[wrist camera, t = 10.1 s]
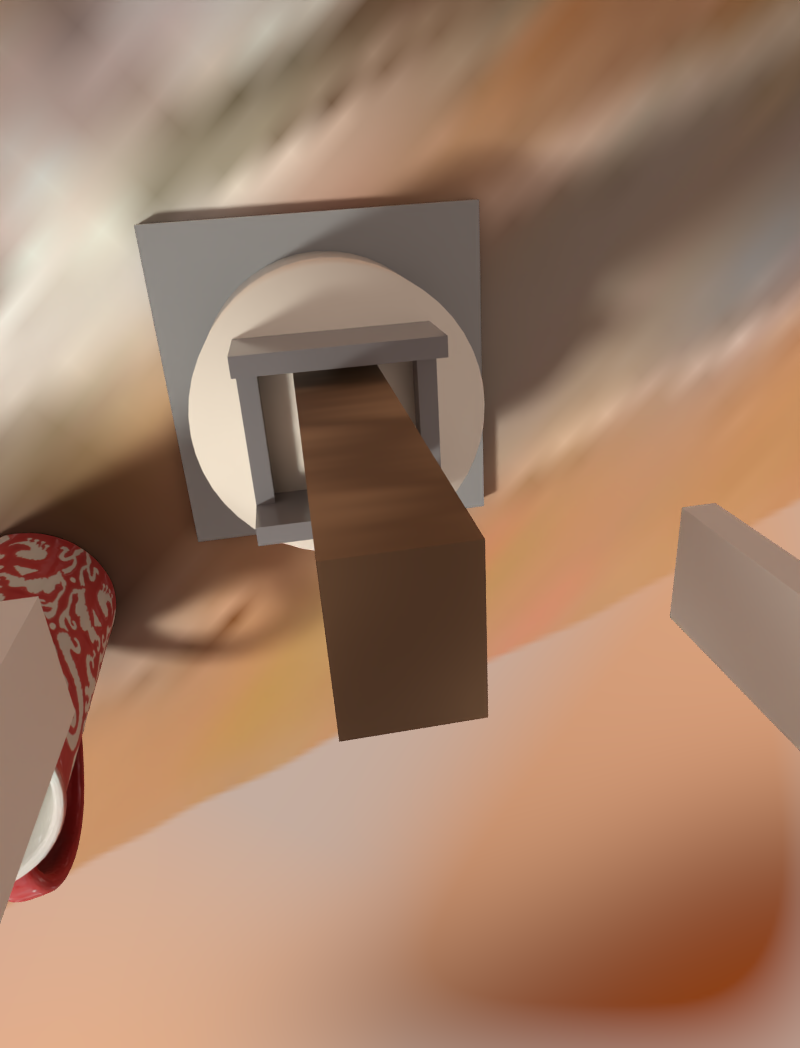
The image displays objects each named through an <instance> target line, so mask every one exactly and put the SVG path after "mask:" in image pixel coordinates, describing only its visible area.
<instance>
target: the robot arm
mask: <svg viewBox="0 0 800 1048" xmlns="http://www.w3.org/2000/svg"><path fill="white" fill-rule="evenodd" d="M670 618H671V619H672V620H673V621H674V622H675V623H676V624H677V625H678V626H679V627H680V628H681V629H682V630H683V631H684V632H685V633H686V634H687V635H688V636H689V637H690V638H691V639H692V640H693V641H694V642H695V643H696V644H697V645H698V646H699V648H700V649H701V650H702V651H703V652H704V653H705V654H706V655H707V656H708V657H709V658H710V659H711V660H712V661H713V662H714V663H715V664H716V665H717V666H718V667H719V668H720V669H721V670H722V671H723V672H724V673H725V674H726V675H727V676H728V677H729V678H730V680H732V682H733V683H734V684H736V686H737V687H738V688H739V689H740V690H741V691H742V692H743V693H744V694H745V695H746V696H747V697H748V698H749V699H750V700H751V701H752V702H753V703H754V704H755V705H756V706H757V707H758V708H759V709H760V710H761V711H762V712H763V713H764V715H765V716H766V717H767V718H768V719H769V720H770V721H771V722H772V723H773V724H774V725H775V726H776V727H777V728H778V729H779V730H780V731H781V732H782V733H783V734H784V735H785V736H786V737H787V738H788V739H789V740H790V741H791V742H792V743H793V744H794V745H795V746H796V747H797V748H798V750H800V560H798V559H797V558H796V557H794V556H793V555H791V554H790V553H788V552H787V551H785V550H784V549H782V548H781V547H779V546H778V545H776V544H775V543H773V542H772V541H770V540H769V539H767V538H766V537H765V536H763V535H761V534H760V533H759V532H757V531H756V530H754V529H753V528H751V527H750V526H748V525H747V524H745V523H744V522H742V521H741V520H739V519H738V518H737V517H735V516H734V515H732V514H731V513H729V512H728V511H726V510H725V509H723V508H722V507H720V506H719V505H717V504H716V503H712V504H705V505H697V506H690V507H683V508H682V513H681V522H680V531H679V540H678V549H677V558H676V567H675V576H674V585H673V594H672V603H671V612H670ZM74 713H75V709H74V706H73V703H72V700H71V697H70V693H69V690H68V687H67V684H66V681H65V678H64V675H63V672H62V668H61V665H60V662H59V659H58V656H57V653H56V650H55V646H54V643H53V640H52V637H51V634H50V631H49V628H48V625H47V621H46V618H45V615H44V612H43V609H42V606H41V603H40V600H39V596H36V597H29V598H21V599H14V600H7V601H0V922H1V919H2V917H3V914H4V911H5V908H6V905H7V902H8V900H9V897H10V894H11V891H12V888H13V886H14V883H15V880H16V877H17V874H18V871H19V869H20V866H21V863H22V860H23V857H24V855H25V852H26V849H27V846H28V843H29V840H30V838H31V835H32V832H33V829H34V826H35V824H36V821H37V818H38V815H39V812H40V809H41V807H42V804H43V801H44V798H45V795H46V792H47V790H48V787H49V784H50V781H51V778H52V776H53V773H54V770H55V767H56V764H57V761H58V759H59V756H60V753H61V750H62V747H63V745H64V742H65V739H66V736H67V733H68V730H69V728H70V725H71V722H72V719H73V716H74Z"/></svg>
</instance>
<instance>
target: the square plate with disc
mask: <svg viewBox="0 0 800 1048" xmlns="http://www.w3.org/2000/svg"><path fill="white" fill-rule="evenodd" d="M134 228H135V233H136V238H137V243H138V247H139V252H140V257H141V262H142V267H143V272H144V277H145V282H146V287H147V292H148V297H149V302H150V306H151V311H152V316H153V321H154V326H155V331H156V336H157V341H158V346H159V351H160V356H161V360H162V365H163V370H164V375H165V380H166V385H167V390H168V395H169V400H170V405H171V410H172V415H173V419H174V424H175V429H176V434H177V439H178V444H179V449H180V454H181V459H182V464H183V469H184V473H185V478H186V483H187V488H188V493H189V498H190V503H191V508H192V513H193V518H194V523H195V528H196V532H197V537H198V542H202V541H209V540H217V539H225V538H233V537H241V536H249V535H257V541H258V546H264V545H271V544H279V543H284V544H288V545H291V546H295V547H298V548H302V549H308V550H314V542H313V534H312V526H311V518H310V510H309V502H308V493H307V485H306V477H305V469H304V461H303V453H302V445H301V437H300V429H299V420H298V412H297V404H296V396H295V388H294V380H293V373H297V372H307V371H317V370H327V369H337V368H347V367H357V366H367V365H378V367H379V369H380V370H381V372H382V373H383V375H384V377H385V378H386V380H387V382H388V383H389V385H390V386H391V388H392V390H393V391H394V393H395V394H396V396H397V398H398V399H399V401H400V403H401V404H402V406H403V407H404V409H405V411H406V412H407V414H408V415H409V417H410V419H411V420H412V422H413V424H414V425H415V427H416V428H417V430H418V432H419V433H420V435H421V437H422V438H423V440H424V441H425V443H426V445H427V446H428V448H429V449H430V451H431V453H432V454H433V456H434V458H435V459H436V461H437V462H438V464H439V466H440V467H441V469H442V470H443V472H444V474H445V475H446V477H447V479H448V480H449V482H450V483H451V485H452V487H453V488H454V490H455V492H456V493H457V495H458V496H459V498H460V500H461V501H462V503H463V504H464V506H465V508H472V507H479V506H484V482H483V424H484V408H485V402H484V389H483V383H482V354H481V289H480V225H479V199H471V200H457V201H443V202H430V203H416V204H403V205H389V206H376V207H362V208H349V209H335V210H322V211H308V212H295V213H281V214H268V215H254V216H241V217H227V218H214V219H200V220H187V221H173V222H159V223H146V224H136V225H134ZM314 551H315V550H314Z"/></svg>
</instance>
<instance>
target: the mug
mask: <svg viewBox="0 0 800 1048" xmlns="http://www.w3.org/2000/svg"><path fill="white" fill-rule="evenodd" d="M36 596H39V600H40V603H41V606H42V609H43V612H44V615H45V618H46V621H47V625H48V628H49V631H50V634H51V637H52V640H53V643H54V646H55V650H56V653H57V656H58V659H59V662H60V665H61V668H62V672H63V675H64V678H65V681H66V684H67V687H68V690H69V693H70V697H71V700H72V703H73V706H74V709H75V713H74V716H73V719H72V722H71V725H70V728H69V730H68V733H67V736H66V739H65V742H64V745H63V747H62V750H61V753H60V756H59V759H58V761H57V764H56V767H55V770H54V773H53V776H52V778H51V781H50V784H49V787H48V790H47V792H46V795H45V798H44V801H43V804H42V807H41V809H40V812H39V815H38V818H37V821H36V824H35V826H34V829H33V832H32V835H31V838H30V840H29V843H28V846H27V849H26V852H25V855H24V857H23V860H22V863H21V866H20V869H19V871H18V874H17V877H16V880H15V883H14V886H13V888H12V891H11V894H10V897H9V900H8V901H10V902H23V901H27V900H31V899H34V898H37V897H39V896H42V895H45V894H47V893H49V892H52V891H53V890H55V889H57V888H58V887H59V886H60V885H61V884H62V883H63V881H64V880H65V879H66V877H67V875H68V873H69V871H70V869H71V867H72V865H73V862H74V859H75V856H76V853H77V849H78V845H79V840H80V834H81V828H82V820H83V808H84V762H83V744H82V734H83V731H84V726H85V722H86V718H87V715H88V711H89V708H90V705H91V701H92V697H93V693H94V690H95V686H96V683H97V680H98V676H99V672H100V669H101V665H102V661H103V657H104V654H105V650H106V647H107V644H108V640H109V637H110V634H111V631H112V627H113V623H114V619H115V613H116V597H115V591H114V588H113V585H112V582H111V580H110V578H109V576H108V574H107V573H106V572H105V570H104V569H103V567H102V566H101V565H100V564H99V563H98V562H97V560H96V559H95V558H93V557H92V556H91V555H90V554H89V553H88V552H86V551H85V550H83V549H82V548H80V547H78V546H77V545H75V544H73V543H71V542H69V541H67V540H64V539H61V538H58V537H54V536H50V535H45V534H38V533H17V534H10V535H5V536H2V537H0V601H7V600H14V599H21V598H29V597H36Z"/></svg>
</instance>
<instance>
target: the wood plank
mask: <svg viewBox="0 0 800 1048" xmlns="http://www.w3.org/2000/svg"><path fill="white" fill-rule="evenodd" d="M293 380H294V388H295V396H296V404H297V412H298V420H299V429H300V437H301V445H302V453H303V461H304V469H305V477H306V485H307V493H308V502H309V510H310V518H311V526H312V534H313V542H314V550H315V558H316V566H317V574H318V582H319V589H320V597H321V605H322V612H323V620H324V628H325V635H326V643H327V651H328V658H329V666H330V674H331V681H332V689H333V697H334V704H335V712H336V719H337V727H338V735H339V741H346V740H352V739H358V738H364V737H371V736H377V735H382V734H389V733H395V732H401V731H407V730H413V729H420V728H426V727H432V726H438V725H444V724H450V723H455V722H462V721H469V720H474V719H480V718H486V717H488V691H487V690H488V684H487V627H486V571H485V538H484V537H483V535H482V534H481V532H480V530H479V529H478V527H477V525H476V524H475V522H474V521H473V519H472V517H471V516H470V514H469V513H468V511H467V509H466V508H465V506H464V504H463V503H462V501H461V500H460V498H459V496H458V495H457V493H456V492H455V490H454V488H453V487H452V485H451V483H450V482H449V480H448V479H447V477H446V475H445V474H444V472H443V470H442V469H441V467H440V466H439V464H438V462H437V461H436V459H435V458H434V456H433V454H432V453H431V451H430V449H429V448H428V446H427V445H426V443H425V441H424V440H423V438H422V437H421V435H420V433H419V432H418V430H417V428H416V427H415V425H414V424H413V422H412V420H411V419H410V417H409V415H408V414H407V412H406V411H405V409H404V407H403V406H402V404H401V403H400V401H399V399H398V398H397V396H396V394H395V393H394V391H393V390H392V388H391V386H390V385H389V383H388V382H387V380H386V378H385V377H384V375H383V373H382V372H381V370H380V369H379V367H378V365H367V366H357V367H347V368H337V369H327V370H317V371H307V372H297V373H293Z"/></svg>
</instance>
